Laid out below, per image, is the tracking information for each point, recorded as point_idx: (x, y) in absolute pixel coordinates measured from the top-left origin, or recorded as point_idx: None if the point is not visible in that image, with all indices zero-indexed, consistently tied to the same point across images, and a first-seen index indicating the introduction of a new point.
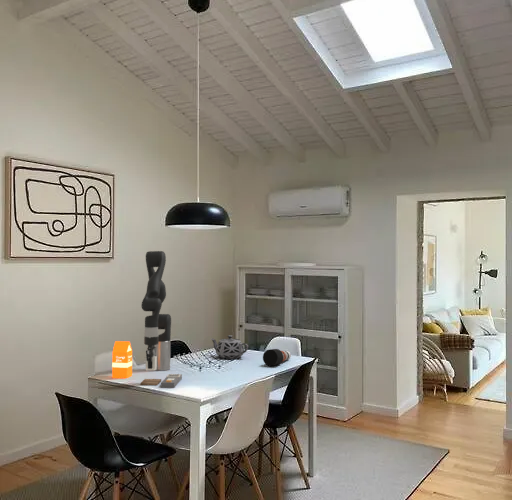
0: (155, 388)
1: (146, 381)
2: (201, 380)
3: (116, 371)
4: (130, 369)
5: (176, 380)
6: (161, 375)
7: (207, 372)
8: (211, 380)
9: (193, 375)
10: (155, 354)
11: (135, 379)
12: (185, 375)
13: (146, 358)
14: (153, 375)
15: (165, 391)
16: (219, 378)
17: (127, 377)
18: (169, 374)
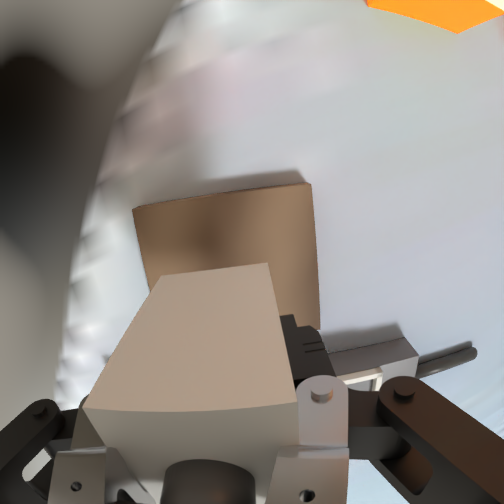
0: (91, 346)
1: (198, 242)
2: (348, 472)
3: None
4: (464, 7)
5: None
6: (492, 245)
7: (496, 418)
8: (347, 491)
9: (461, 406)
10: (415, 478)
11: (354, 77)
12: (470, 376)
13: (99, 402)
14: (492, 188)
15: (65, 402)
16: (382, 492)
17: (382, 7)
18: (377, 379)
